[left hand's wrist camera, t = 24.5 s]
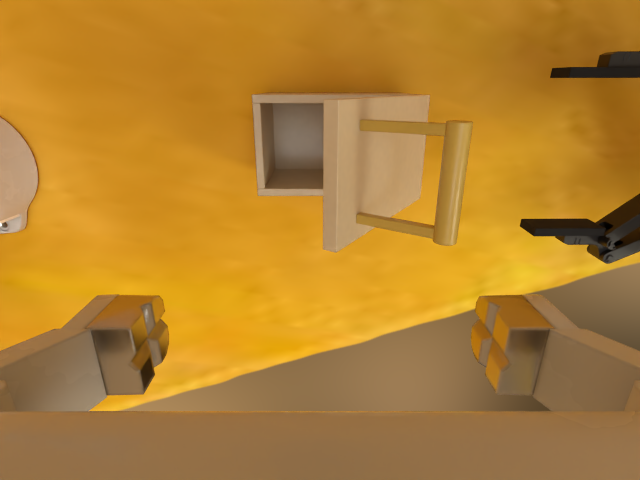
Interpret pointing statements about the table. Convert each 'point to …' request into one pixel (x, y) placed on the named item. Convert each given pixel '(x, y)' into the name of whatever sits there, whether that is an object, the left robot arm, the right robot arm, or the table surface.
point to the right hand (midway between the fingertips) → (542, 155)
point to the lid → (387, 168)
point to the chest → (292, 141)
